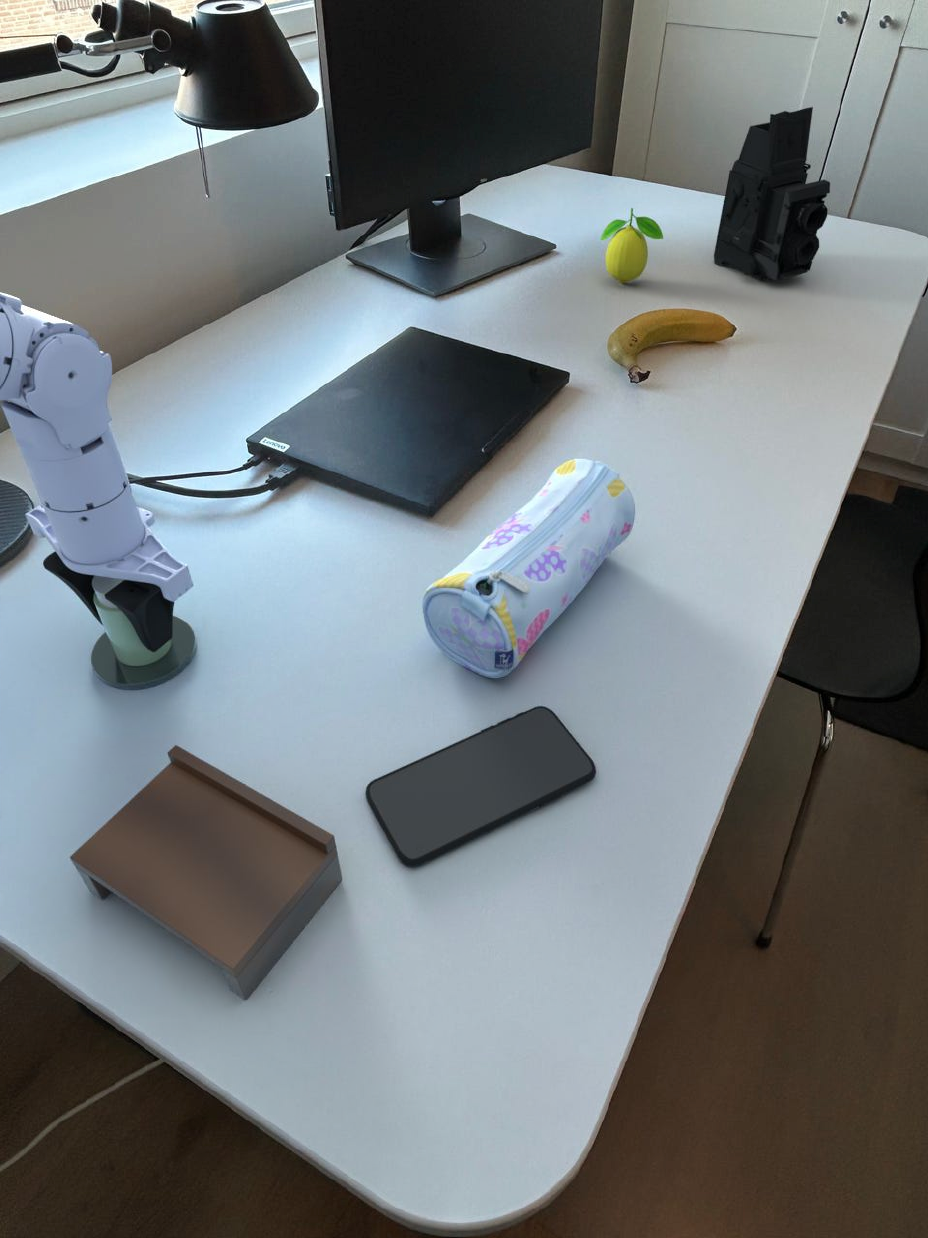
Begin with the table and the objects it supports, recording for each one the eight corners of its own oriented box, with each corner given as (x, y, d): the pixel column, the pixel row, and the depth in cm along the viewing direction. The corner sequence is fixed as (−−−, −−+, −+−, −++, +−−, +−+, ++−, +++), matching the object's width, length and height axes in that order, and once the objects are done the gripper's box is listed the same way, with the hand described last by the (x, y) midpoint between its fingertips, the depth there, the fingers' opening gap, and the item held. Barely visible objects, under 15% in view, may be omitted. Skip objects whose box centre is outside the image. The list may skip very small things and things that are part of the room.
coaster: (74, 682, 68) (71, 677, 67) (121, 612, 73) (119, 607, 73) (171, 696, 67) (169, 690, 66) (211, 623, 72) (210, 618, 72)
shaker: (105, 662, 68) (76, 593, 63) (130, 624, 72) (104, 555, 67) (158, 669, 68) (133, 600, 63) (181, 630, 71) (159, 561, 66)
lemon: (656, 289, 119) (667, 212, 113) (618, 296, 118) (627, 219, 111) (630, 271, 124) (640, 196, 117) (594, 277, 122) (601, 202, 115)
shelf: (246, 1001, 50) (229, 961, 46) (89, 891, 55) (63, 848, 51) (343, 879, 55) (334, 835, 52) (192, 789, 60) (175, 744, 57)
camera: (771, 297, 117) (811, 130, 103) (703, 262, 126) (732, 104, 112) (825, 281, 121) (871, 118, 107) (755, 249, 129) (789, 94, 116)
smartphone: (358, 783, 60) (545, 699, 65) (359, 791, 60) (544, 708, 65) (406, 869, 55) (603, 771, 60) (407, 876, 56) (602, 779, 60)
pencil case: (505, 704, 66) (509, 611, 59) (413, 656, 69) (407, 564, 63) (634, 557, 78) (649, 467, 72) (550, 523, 82) (557, 435, 75)
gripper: (205, 489, 59) (242, 634, 68) (60, 430, 64) (112, 571, 74) (124, 546, 54) (176, 692, 64) (-24, 477, 60) (43, 621, 69)
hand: (137, 631), depth 68 cm, fingers closed on shaker, 4 cm apart
